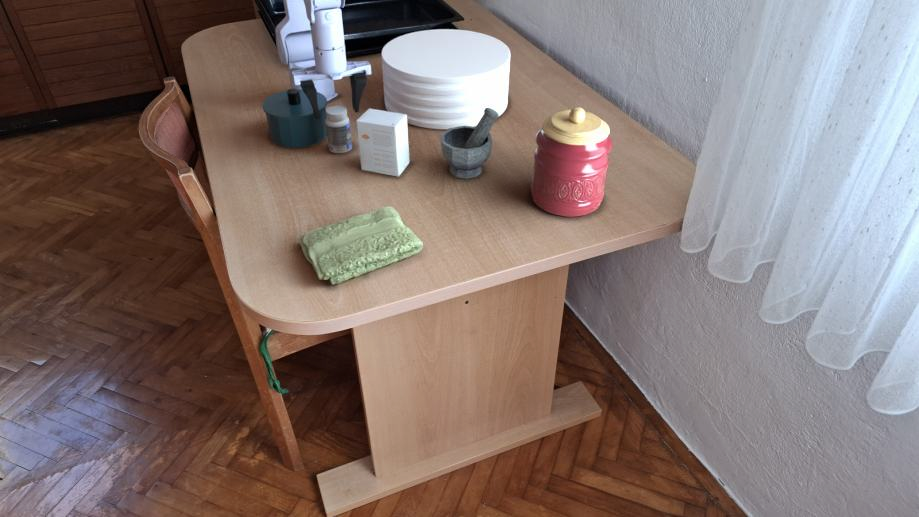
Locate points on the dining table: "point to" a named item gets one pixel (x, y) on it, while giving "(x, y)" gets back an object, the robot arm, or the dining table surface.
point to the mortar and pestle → (468, 146)
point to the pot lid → (292, 104)
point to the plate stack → (445, 77)
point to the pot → (298, 130)
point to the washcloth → (359, 245)
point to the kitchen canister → (571, 163)
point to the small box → (383, 142)
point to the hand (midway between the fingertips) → (336, 113)
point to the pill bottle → (338, 129)
